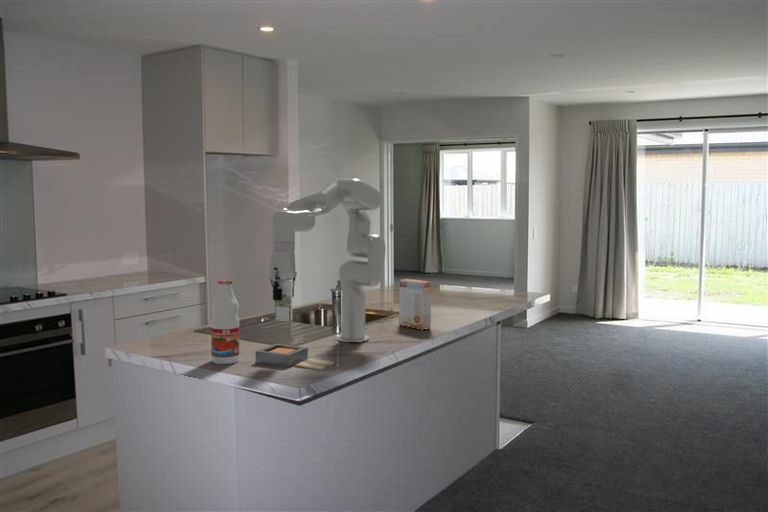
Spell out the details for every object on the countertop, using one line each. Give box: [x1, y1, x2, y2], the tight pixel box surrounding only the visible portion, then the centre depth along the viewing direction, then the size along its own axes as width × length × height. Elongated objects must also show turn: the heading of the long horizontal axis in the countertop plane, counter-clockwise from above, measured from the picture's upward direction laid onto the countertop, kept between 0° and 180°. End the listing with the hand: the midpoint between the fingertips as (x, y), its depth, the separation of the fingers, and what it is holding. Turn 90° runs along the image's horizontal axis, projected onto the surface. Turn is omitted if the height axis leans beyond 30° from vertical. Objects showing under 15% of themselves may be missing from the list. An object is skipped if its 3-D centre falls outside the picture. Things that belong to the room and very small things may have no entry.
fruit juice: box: [210, 279, 240, 365], centre depth 224 cm, size 9×9×28 cm
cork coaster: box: [294, 358, 336, 371], centre depth 223 cm, size 10×10×1 cm
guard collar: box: [255, 343, 309, 368], centre depth 227 cm, size 13×13×4 cm
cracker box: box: [398, 278, 432, 329], centre depth 287 cm, size 14×6×21 cm, turn 44°
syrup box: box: [273, 278, 293, 323], centre depth 226 cm, size 6×6×14 cm
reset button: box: [269, 348, 295, 354], centre depth 227 cm, size 7×7×1 cm
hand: (283, 298), depth 226 cm, fingers closed on syrup box, 7 cm apart
